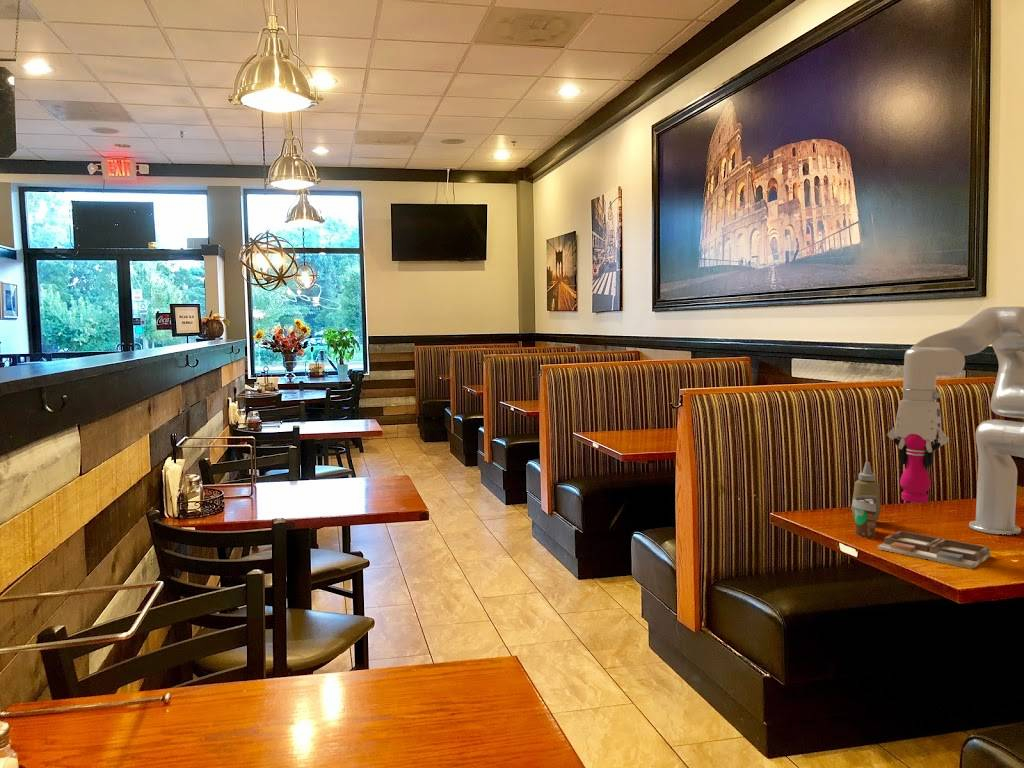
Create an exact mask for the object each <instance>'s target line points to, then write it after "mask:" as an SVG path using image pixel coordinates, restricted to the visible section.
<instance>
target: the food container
mask: <svg viewBox="0 0 1024 768" xmlns="http://www.w3.org/2000/svg"><path fill="white" fill-rule="evenodd" d="M852 500H853V499H852ZM876 504H877V496H869V495H865V496H857V497H855V499H854V500H853V503H852V502H851V507H852V506H853V507H855V519H854V522H855V525H854V526H855V534H857V535H856V536H858V535H859V536H858V537H861V536H862V537H861V538H864V537H867V538H866V539H869V538H875V539H876V530H877V529H876V525H877V522H876Z"/></svg>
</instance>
